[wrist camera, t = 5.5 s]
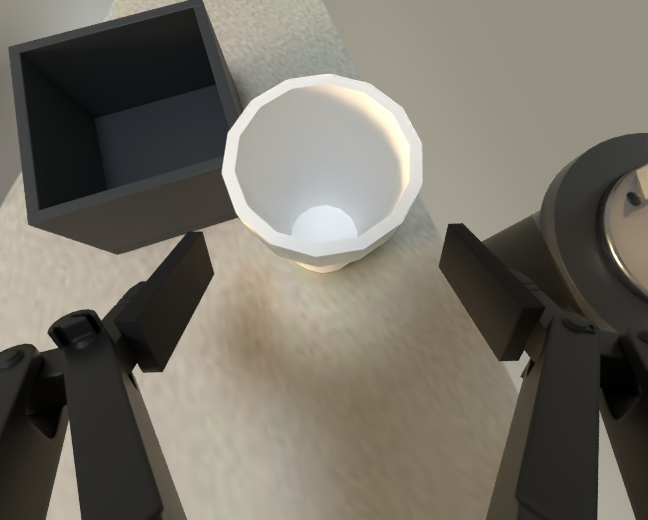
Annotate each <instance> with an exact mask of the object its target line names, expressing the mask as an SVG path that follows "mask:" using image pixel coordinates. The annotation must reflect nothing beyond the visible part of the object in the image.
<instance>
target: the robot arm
mask: <svg viewBox="0 0 648 520" xmlns="http://www.w3.org/2000/svg"><path fill="white" fill-rule="evenodd" d="M595 229H596V236H597V241H598V244H599V248H600V250H601V253H602V255H603V257H604V259H605V261H606V263H607V265H608V266H609V268H610V270H611V271H612V272H613V274H614V275H615V276H616V278H617V279H618V280H619V281H620V282H621V283H622V284H623V285H624V286H625V287H626V288H627V289H628V290H629V291H630V292H631V293H632V294H633V295H635V296H636V297H637V298H639V299H640V300H642V301H643V302H645V303H646V304H648V162H647V163H645V164H642V165H640V166H638V167H636V168H634V169H632V170H630V171H628V172H626V173H625V174H623V175H621V176H619V177H618V178H616V179H615V180H614V181H613V182H612V183H611V184H610V185H609V186H608V187H607V188H606V190H605V191H604V193H603V194H602V196H601V198H600V201H599V203H598V206H597V210H596V217H595ZM439 268H440V270H441V271H442V273H443V274H444V276H445V277H446V279H447V281H448V282H449V284H450V285H451V287H452V288H453V290H454V292H455V293H456V295H457V296H458V298H459V299H460V301H461V303H462V304H463V306H464V307H465V309H466V310H467V312H468V313H469V315H470V317H471V318H472V320H473V321H474V323H475V324H476V326H477V328H478V329H479V331H480V332H481V334H482V335H483V337H484V339H485V340H486V342H487V343H488V345H489V346H490V348H491V349H492V351H493V353H494V354H495V356H496V357H497V359H498V360H499V361H518V360H519V359H520V357H521V355H522V353H523V351H524V350H525V351H526V353H527V354H528V355H529V357H530V360H529V362H528V364H527V366H526V367H525V369H524V371H523V373H522V375H521V377H522V378H523V382H522V386H521V390H520V393H519V397H518V401H517V404H516V408H515V412H514V416H513V419H512V423H511V427H510V431H509V434H508V438H507V442H506V446H505V449H504V453H503V457H502V461H501V464H500V468H499V472H498V476H497V479H496V483H495V487H494V491H493V494H492V498H491V502H490V506H489V509H488V513H487V517H486V520H597V505H598V453H599V410H600V412H601V416H602V419H603V421H604V425H605V428H606V431H607V433H608V437H609V440H610V443H611V446H612V449H613V452H614V455H615V458H616V461H617V464H618V467H619V470H620V473H621V475H622V479H623V482H624V485H625V488H626V490H627V494H628V497H629V500H630V503H631V506H632V509H633V512H634V515H635V518H636V520H648V325H644V324H629V325H628V326H627V327H626V328H625V330H624V331H623V332H622V333H617V332H612V331H607V330H601V329H599V328H598V327H597V326H596V325H595V324H594V323H593V322H592V321H590V320H589V319H587V318H585V317H583V316H581V315H578V314H575V313H571V312H564V311H562V310H561V309H560V308H559V307H558V306H557V305H556V304H555V303H554V302H553V301H552V300H551V299H550V298H549V297H548V296H547V295H546V294H545V293H544V292H543V291H540V289H539V288H538V287H537V286H536V285H534V283H533V282H532V281H531V280H530V279H529V278H528V277H527V276H526V275H524V274H522V273H520V272H519V271H517V270H515V269H508V268H507V267H506V266H505V265H504V264H503V263H502V262H501V261H500V260H499V259H498V258H497V257H496V256H495V255H494V254H493V253H492V252H491V251H490V250H489V249H488V248H487V247H486V246H485V245H484V244H483V243H482V242H481V241H480V240H479V239H478V238H476V236H475V235H474V234H473V233H472V232H471V231H469V229H468V228H467V227H466V226H465V225H464V224H463V223H461V224H448V228H447V232H446V237H445V241H444V245H443V250H442V254H441V259H440V263H439ZM213 275H214V271H213V268H212V264H211V261H210V257H209V253H208V250H207V246H206V243H205V239H204V236H203V232H188V233H187V234H186V235H185V236H184V237H183V238H182V240H181V241H180V242H179V243H178V244H177V246H176V247H175V248H174V249H173V250H172V252H171V253H170V254H169V255H168V256H167V258H166V259H165V260H164V261H163V262H162V263H161V265H160V266H159V267H158V268H157V269H156V271H155V272H154V273H153V274H152V275H151V277H150V278H149V279H148V280H147V281H142V282H139V283H138V284H136V285H135V286H133V287H132V288H130V289H129V290H128V291H127V293H126V294H125V295H124V296H123V298H122V299H120V300H119V302H118V303H117V305H115V306H114V307H113V308H112V309H111V311H110V312H109V313H108V314H107V315H106V316H105V317H104V318H103V320H102V321H101V320H100V318H99V317H98V315H97V313H96V312H95V311H94V310H89V309H87V310H79V311H76V312H72V313H70V314H68V315H65V316H63V317H61V318H60V319H59V320H57V321H56V322H54V323H53V324H52V325H51V327H50V328H49V330H48V334H49V336H50V337H51V338H52V340H53V341H54V342H55V344H56V345H57V346H58V348H56V349H52V350H48V351H44V352H39V351H38V350H37V349H36V347H35V346H33V345H32V344H22V345H17V346H14V347H11V348H8V349H6V350H4V351H2V352H0V520H45V519H46V515H47V511H48V507H49V502H50V498H51V494H52V489H53V485H54V481H55V477H56V472H57V468H58V464H59V459H60V455H61V451H62V447H63V442H64V438H65V434H66V429H67V425H68V421H70V429H71V437H72V445H73V454H74V462H75V470H76V478H77V486H78V494H79V502H80V510H81V519H82V520H187V518H186V516H185V513H184V510H183V507H182V505H181V502H180V499H179V496H178V494H177V491H176V488H175V486H174V483H173V480H172V477H171V475H170V472H169V469H168V466H167V464H166V461H165V458H164V455H163V453H162V450H161V447H160V445H159V442H158V439H157V436H156V434H155V431H154V428H153V425H152V423H151V420H150V417H149V414H148V412H147V409H146V406H145V404H144V401H143V398H142V395H141V393H140V390H139V387H138V384H137V382H136V379H135V376H134V375H133V373H132V370H133V369H134V367H135V365H136V364H137V363H138V365H139V367H140V369H141V370H142V372H143V373H147V372H163V370H164V368H165V366H166V364H167V363H168V361H169V359H170V357H171V355H172V353H173V351H174V349H175V347H176V345H177V344H178V342H179V340H180V338H181V336H182V334H183V332H184V330H185V328H186V326H187V325H188V323H189V321H190V319H191V317H192V315H193V313H194V311H195V309H196V307H197V306H198V304H199V302H200V300H201V298H202V296H203V294H204V292H205V290H206V289H207V287H208V285H209V283H210V281H211V279H212V277H213Z"/></svg>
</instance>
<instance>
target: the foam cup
mask: <svg viewBox="0 0 648 520" xmlns="http://www.w3.org/2000/svg"><path fill="white" fill-rule="evenodd" d="M222 176H223V179H224V182H225V184H226V187H227V190H228V193H229V195H230V198H231V201H232V204H233V207H234V209H235V212H236V214H237V215H238V216H239V218H240V219H241V220H242V221H243V223H244V224H245V225H246V226H247V228H248V229H249V230H250V231H251V232H252V233H253V234H255V235H256V236H257V237H258V238H259V239H260V240H261V241H262V242H263V243H264V244H265V245H267V246H268V247H269V248H270V249H271V250H272V251H273V252H274V253H275V254H276V255H278V256H280V257H283V258H287V259H290V260H293V261H294V262H296V263H298V264H299V265H301V266H303V267H304V268H306V269H309V270H313V271H316V272H320V273H326V272H332V271H338V270H340V269H341V268H342V267H344V266H345V265H347V264H348V263H350V262H354V261H358V260H360V259H361V258H363V257H364V256H366V255H367V254H369V253H370V252H371V251H373V250H374V249H376V248H377V247H379V246H380V245H381V244H383V243H384V242H386V241H387V240H389V239H390V238H391V237H392V236H393V234H394V233H395V232H396V230H397V229H398V228H399V226H400V225H401V224H402V222H403V220H404V218H405V217H406V215H407V213H408V211H409V209H410V207H411V205H412V203H413V202H414V200H415V198H416V196H417V194H418V192H419V190H420V188H421V186H422V183H423V180H422V179H423V178H422V142H421V140H420V139H419V137H418V135H417V133H416V131H415V129H414V128H413V126H412V124H411V122H410V120H409V118H408V116H407V115H406V113H405V111H404V109H403V108H402V107H401V106H400V105H398V104H397V103H395V102H394V101H393V100H392V99H390V98H389V97H387V96H386V95H385V94H383V93H382V92H381V91H379V90H378V89H376V88H375V87H374V86H373V85H371V84H370V83H366V82H362V81H358V80H354V79H350V78H345V77H341V76H337V75H333V74H322V75H315V76H308V77H300V78H293V79H287V80H285V81H284V82H282V83H280V84H278V85H277V86H275V87H273V88H272V89H270V90H268V91H266V92H265V93H263V94H261V95H259V96H258V97H256V98H254V99H253V100H251V101H250V103H249V104H248V106H247V107H246V108H245V110H244V111H243V113H242V114H241V115H240V117H239V118H238V120H237V121H236V122H235V124H234V125H233V127H232V128H231V129H230V131H229V132H228V135H227V141H226V148H225V154H224V160H223V167H222Z"/></svg>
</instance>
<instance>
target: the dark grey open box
mask: <svg viewBox="0 0 648 520" xmlns="http://www.w3.org/2000/svg"><path fill="white" fill-rule="evenodd" d="M8 49H9V55H10V56H9V58H10V66H11V76H12V85H13V94H14V102H15V111H16V120H17V129H18V138H19V146H20V156H21V164H22V174H23V182H24V191H25V200H26V209H27V213H28V214H27V219H28V225H30V226H33V227H36V228H39V229H42V230H45V231H48V232H51V233H54V234H57V235H60V236H63V237H66V238H69V239H72V240H75V241H78V242H81V243H84V244H87V245H90V246H93V247H96V248H99V249H102V250H105V251H108V252H111V253H114V254H117V255H118V254H121V253H124V252H127V251H131V250H134V249H137V248H140V247H143V246H147V245H150V244H153V243H156V242H160V241H163V240H166V239H169V238H172V237H176V236H179V235H182V234H185V233H188V232H192V231H195V230H198V229H201V228H205V227H208V226H211V225H214V224H217V223H221V222H224V221H227V220H230V219H234V218H237V217H239V216H238V215H237V214H236V212H235V209H234V207H233V204H232V201H231V198H230V195H229V193H228V190H227V187H226V184H225V182H224V179H223V176H222V167H223V160H224V154H225V148H226V141H227V135H228V132H229V131H230V129H231V128H232V127H233V125H234V124H235V122H236V121H237V120H238V118H239V117H240V115H241V114H242V113H243V110H242V107H241V104H240V101H239V98H238V94H237V91H236V88H235V85H234V82H233V79H232V77H231V74H230V71H229V69H228V66H227V63H226V61H225V58H224V56H223V53H222V50H221V48H220V45H219V43H218V40H217V37H216V35H215V32H214V29H213V27H212V24H211V22H210V19H209V16H208V14H207V11H206V9H205V6H204V3H203V1H202V0H188V1H184V2H180V3H176V4H172V5H168V6H165V7H161V8H157V9H153V10H149V11H145V12H141V13H138V14H134V15H130V16H126V17H122V18H118V19H114V20H111V21H107V22H103V23H99V24H95V25H91V26H88V27H84V28H80V29H76V30H72V31H68V32H64V33H61V34H57V35H53V36H50V37H45V38H41V39H37V40H33V41H30V42H26V43H22V44H19V45H14V46H10V47H9V48H8Z"/></svg>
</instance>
